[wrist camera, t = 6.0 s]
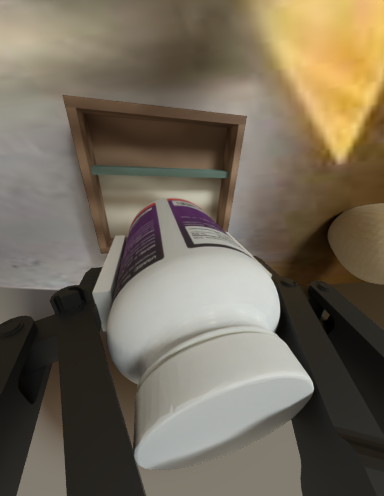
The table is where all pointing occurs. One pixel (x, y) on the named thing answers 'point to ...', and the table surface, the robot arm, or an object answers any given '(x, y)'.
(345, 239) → the vase
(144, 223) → the pill bottle
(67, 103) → the crate
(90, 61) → the table surface
